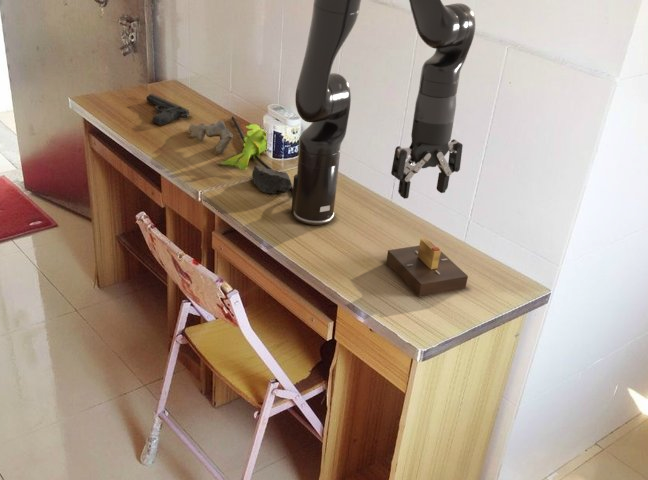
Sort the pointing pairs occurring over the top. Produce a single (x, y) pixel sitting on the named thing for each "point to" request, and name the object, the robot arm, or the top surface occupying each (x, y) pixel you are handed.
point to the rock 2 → (271, 180)
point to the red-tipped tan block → (429, 253)
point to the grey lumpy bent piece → (213, 134)
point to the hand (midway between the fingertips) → (422, 194)
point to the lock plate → (426, 272)
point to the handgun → (166, 110)
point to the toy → (250, 147)
